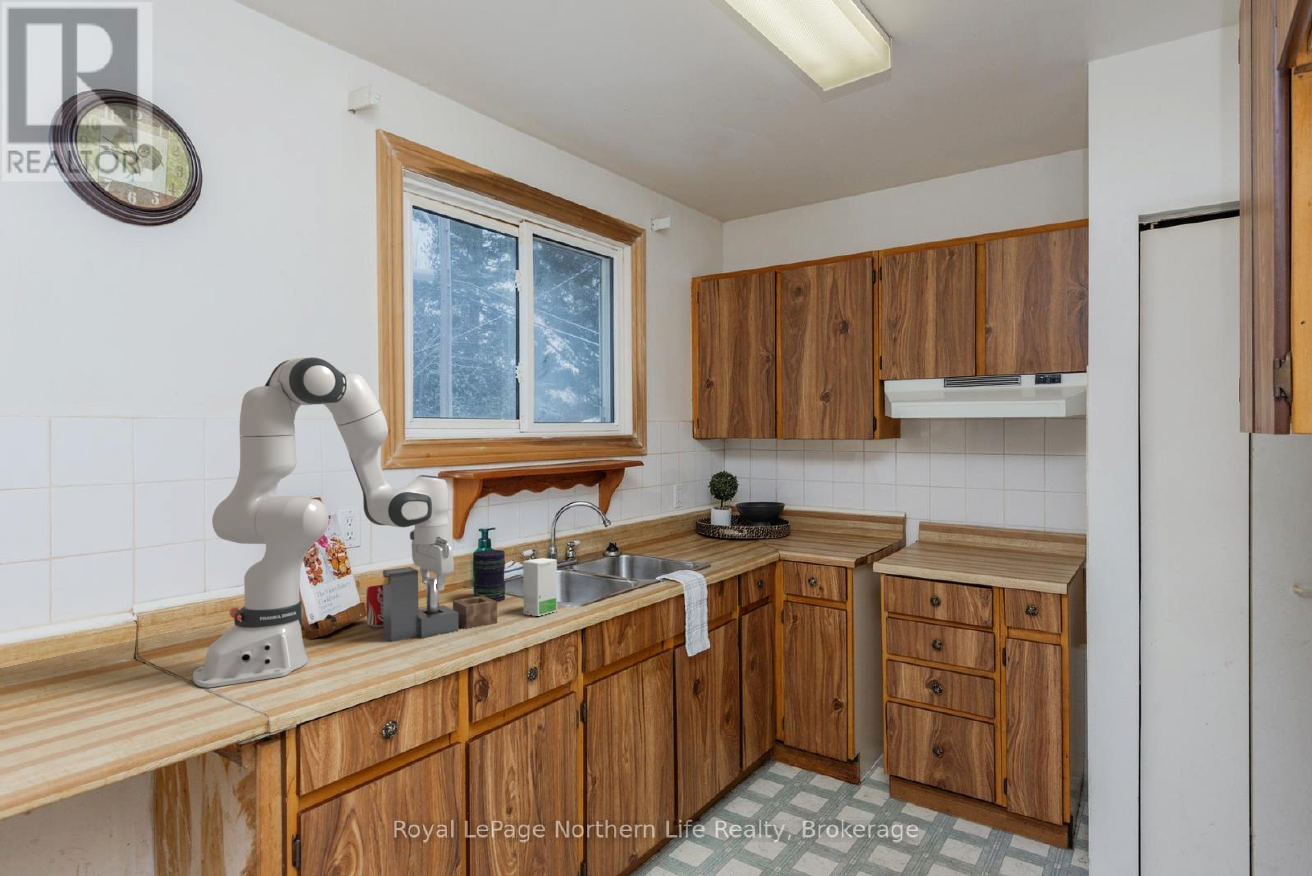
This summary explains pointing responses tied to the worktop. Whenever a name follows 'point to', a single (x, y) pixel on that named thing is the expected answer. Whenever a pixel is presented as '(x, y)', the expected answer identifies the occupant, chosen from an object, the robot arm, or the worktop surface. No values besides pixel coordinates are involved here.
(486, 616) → the brown wooden square holder
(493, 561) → the storage jar
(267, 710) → the worktop surface
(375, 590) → the soda can
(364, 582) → the bar
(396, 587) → the socket block
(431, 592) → the silver metal rod
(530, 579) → the skincare box
